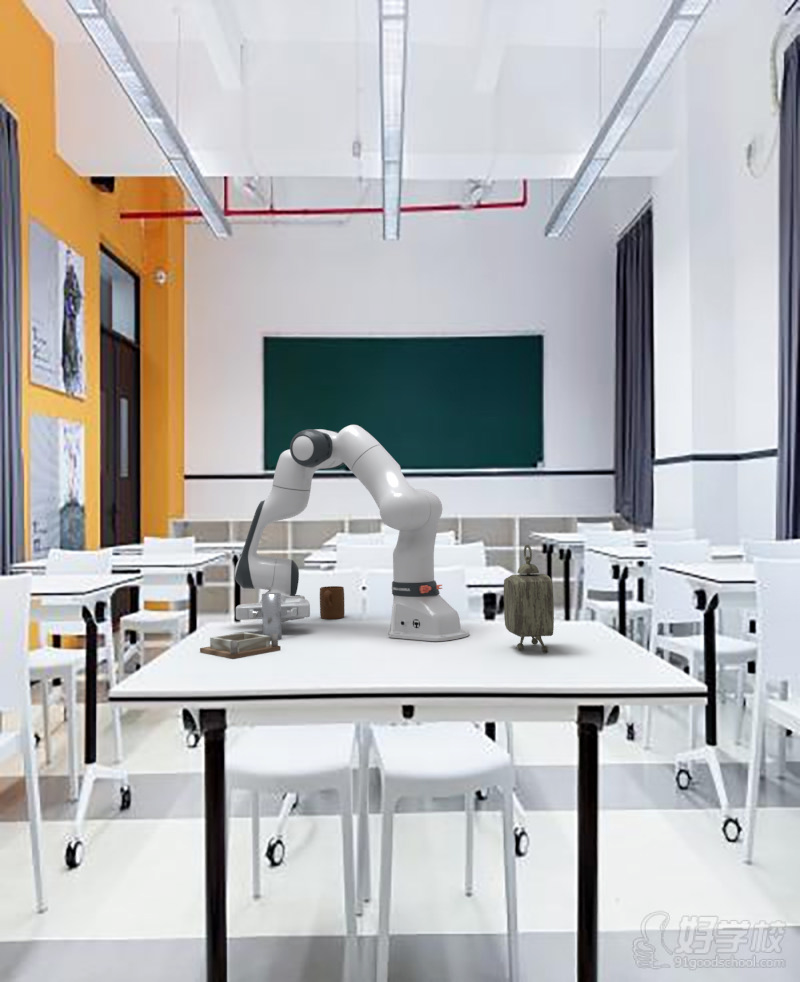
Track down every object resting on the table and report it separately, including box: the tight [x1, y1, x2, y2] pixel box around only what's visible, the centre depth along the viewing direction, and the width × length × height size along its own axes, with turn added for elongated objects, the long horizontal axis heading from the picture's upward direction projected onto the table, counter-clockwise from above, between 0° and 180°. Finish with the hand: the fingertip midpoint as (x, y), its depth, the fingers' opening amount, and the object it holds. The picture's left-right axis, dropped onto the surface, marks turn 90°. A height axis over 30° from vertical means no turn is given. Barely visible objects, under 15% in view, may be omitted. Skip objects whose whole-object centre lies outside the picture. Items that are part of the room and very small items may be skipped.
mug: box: [319, 585, 345, 620], centre depth 263 cm, size 12×8×9 cm, turn 172°
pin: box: [261, 592, 283, 642], centre depth 228 cm, size 5×5×12 cm
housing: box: [199, 631, 281, 660], centre depth 211 cm, size 14×14×4 cm
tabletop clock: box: [503, 544, 555, 654], centre depth 204 cm, size 14×9×25 cm, turn 4°
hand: (272, 614), depth 228 cm, fingers open, 8 cm apart
